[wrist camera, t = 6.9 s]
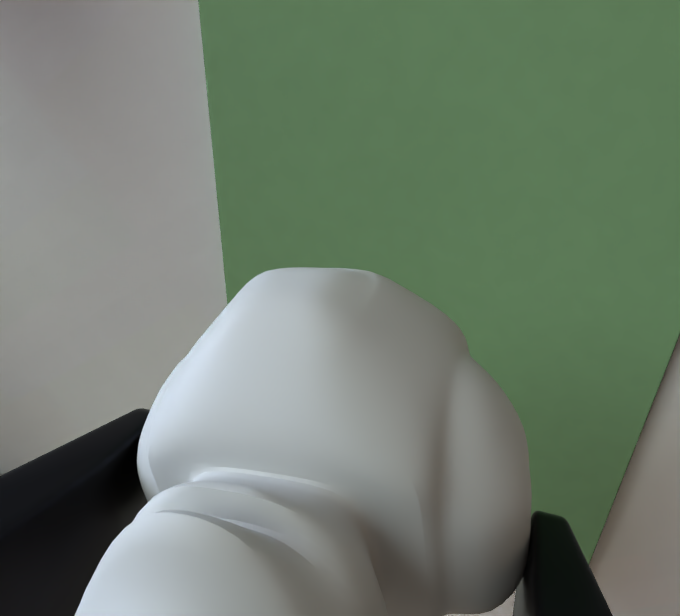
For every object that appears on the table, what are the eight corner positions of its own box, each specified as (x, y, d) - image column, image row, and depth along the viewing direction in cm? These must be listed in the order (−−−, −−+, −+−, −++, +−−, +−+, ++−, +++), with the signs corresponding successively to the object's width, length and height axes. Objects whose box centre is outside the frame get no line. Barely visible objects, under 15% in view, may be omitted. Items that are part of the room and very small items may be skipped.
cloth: (582, 573, 19) (582, 581, 19) (247, 480, 22) (244, 486, 22) (903, -248, 9) (912, -253, 9) (184, -215, 12) (176, -219, 12)
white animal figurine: (545, 209, 8) (440, 1539, 1) (533, 547, 11) (484, 1423, 4) (189, 213, 10) (-596, 778, 3) (267, 503, 13) (-41, 1081, 6)
